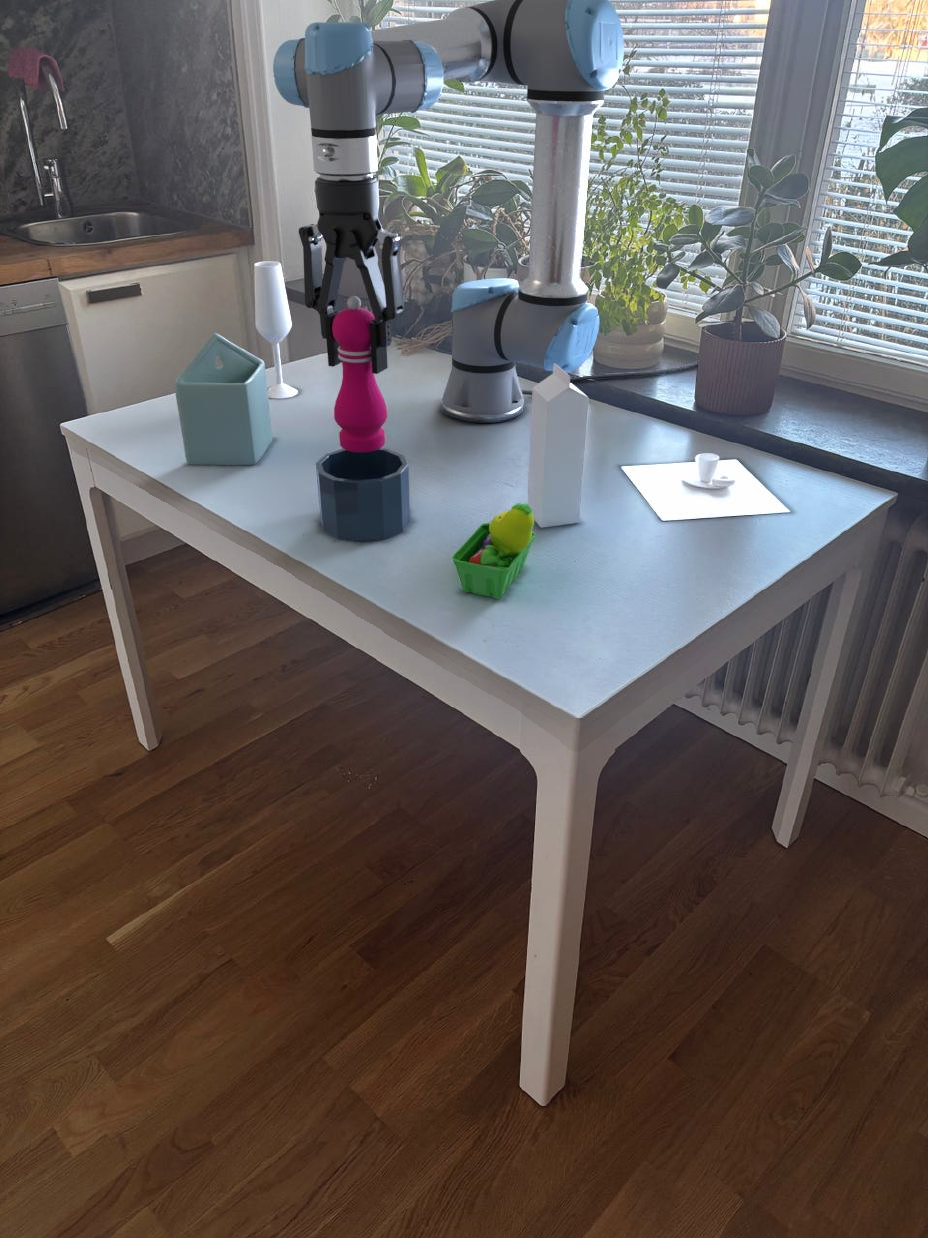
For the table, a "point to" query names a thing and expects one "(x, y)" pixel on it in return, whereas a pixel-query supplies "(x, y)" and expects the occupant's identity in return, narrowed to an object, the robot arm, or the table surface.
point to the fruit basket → (496, 552)
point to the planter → (224, 406)
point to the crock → (363, 494)
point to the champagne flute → (272, 317)
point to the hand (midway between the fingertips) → (357, 366)
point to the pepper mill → (358, 382)
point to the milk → (556, 450)
